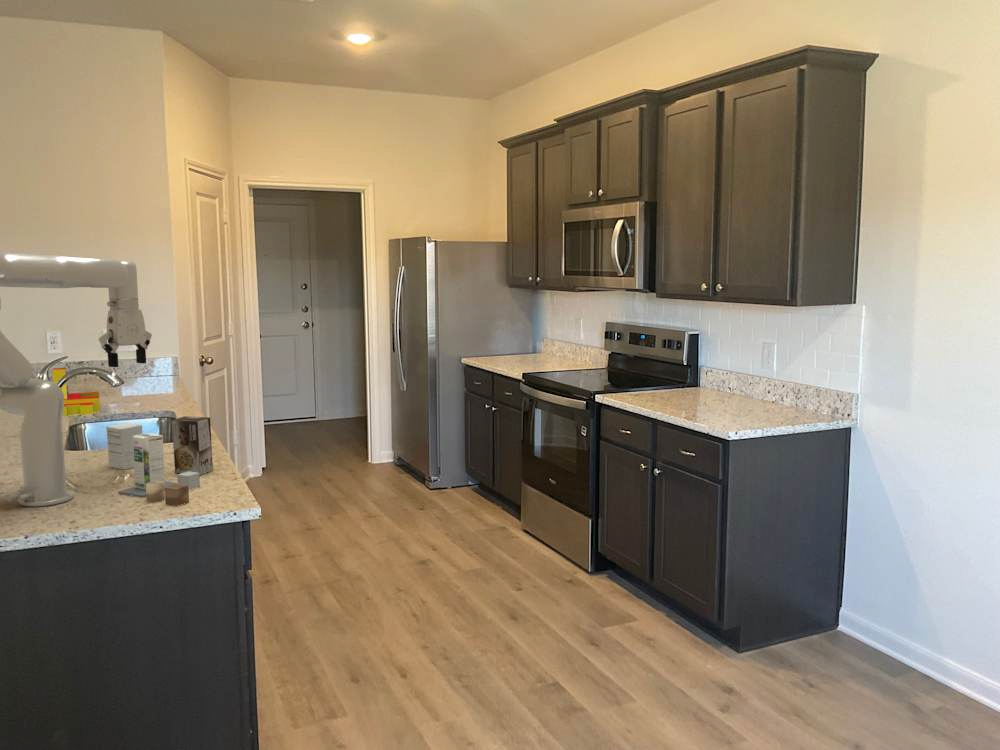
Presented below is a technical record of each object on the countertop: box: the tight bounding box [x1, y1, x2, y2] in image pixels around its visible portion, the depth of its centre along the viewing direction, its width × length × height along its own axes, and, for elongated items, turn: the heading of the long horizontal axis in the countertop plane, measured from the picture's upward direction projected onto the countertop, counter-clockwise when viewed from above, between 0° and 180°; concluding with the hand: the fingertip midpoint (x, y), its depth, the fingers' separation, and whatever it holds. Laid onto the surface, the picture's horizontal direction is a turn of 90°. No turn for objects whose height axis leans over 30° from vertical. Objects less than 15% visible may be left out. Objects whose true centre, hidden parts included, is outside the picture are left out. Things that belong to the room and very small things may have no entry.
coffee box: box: [171, 415, 214, 476], centre depth 239 cm, size 9×6×16 cm
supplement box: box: [105, 422, 143, 470], centre depth 247 cm, size 7×7×13 cm
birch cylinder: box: [145, 481, 165, 503], centre depth 212 cm, size 4×4×4 cm
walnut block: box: [164, 484, 190, 507], centre depth 208 cm, size 4×4×4 cm
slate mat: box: [118, 480, 178, 498], centre depth 221 cm, size 13×9×1 cm
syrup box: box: [133, 432, 166, 490], centre depth 221 cm, size 6×6×14 cm
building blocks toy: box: [52, 367, 101, 416], centre depth 337 cm, size 19×25×18 cm
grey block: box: [176, 471, 201, 490], centre depth 223 cm, size 4×4×4 cm
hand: (127, 365), depth 232 cm, fingers open, 9 cm apart
